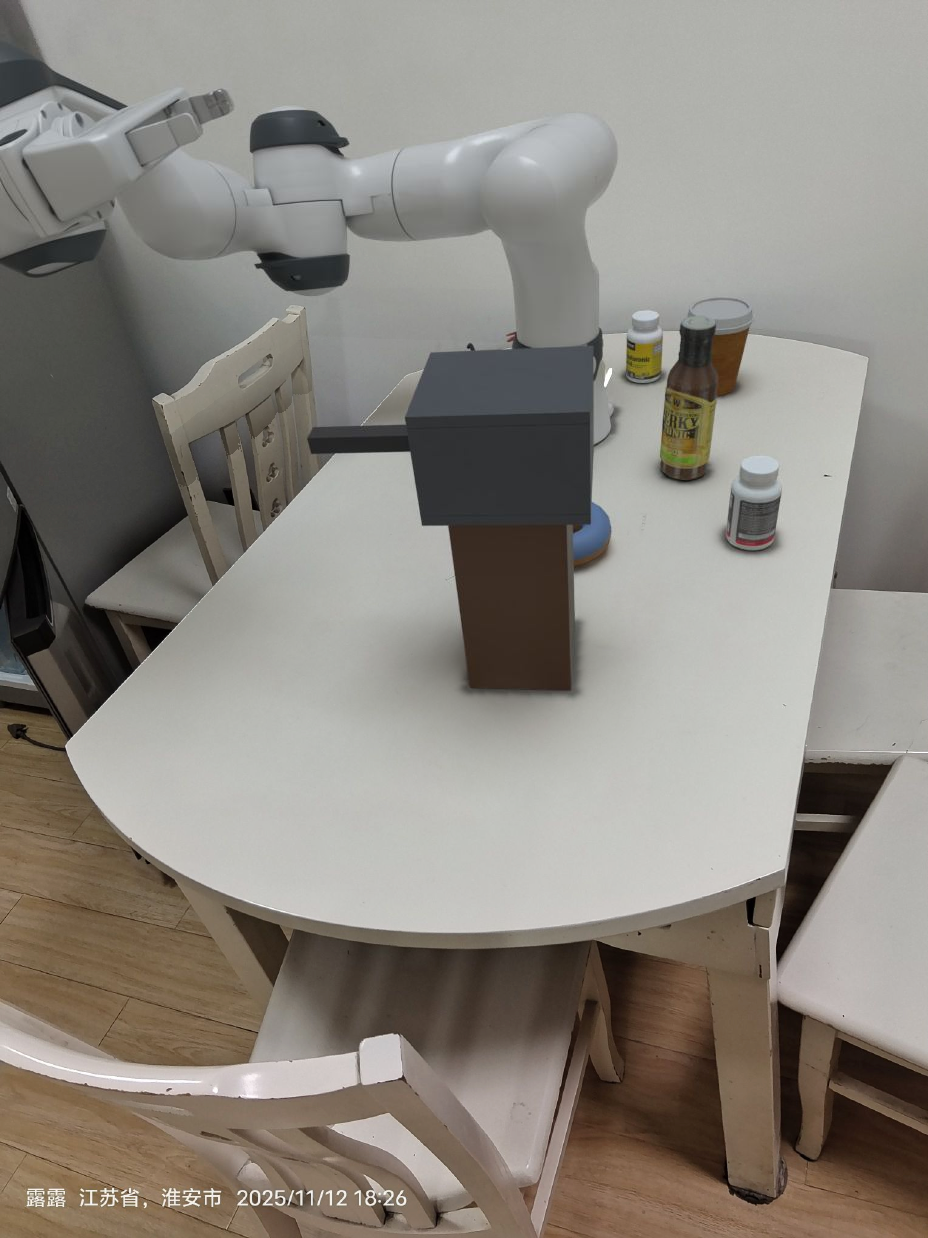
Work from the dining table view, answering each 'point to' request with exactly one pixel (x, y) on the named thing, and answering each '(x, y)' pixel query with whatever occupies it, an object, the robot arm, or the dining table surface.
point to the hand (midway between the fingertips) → (214, 110)
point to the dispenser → (508, 499)
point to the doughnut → (591, 536)
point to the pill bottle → (754, 504)
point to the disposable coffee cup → (726, 335)
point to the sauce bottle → (690, 402)
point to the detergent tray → (358, 439)
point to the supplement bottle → (644, 347)
